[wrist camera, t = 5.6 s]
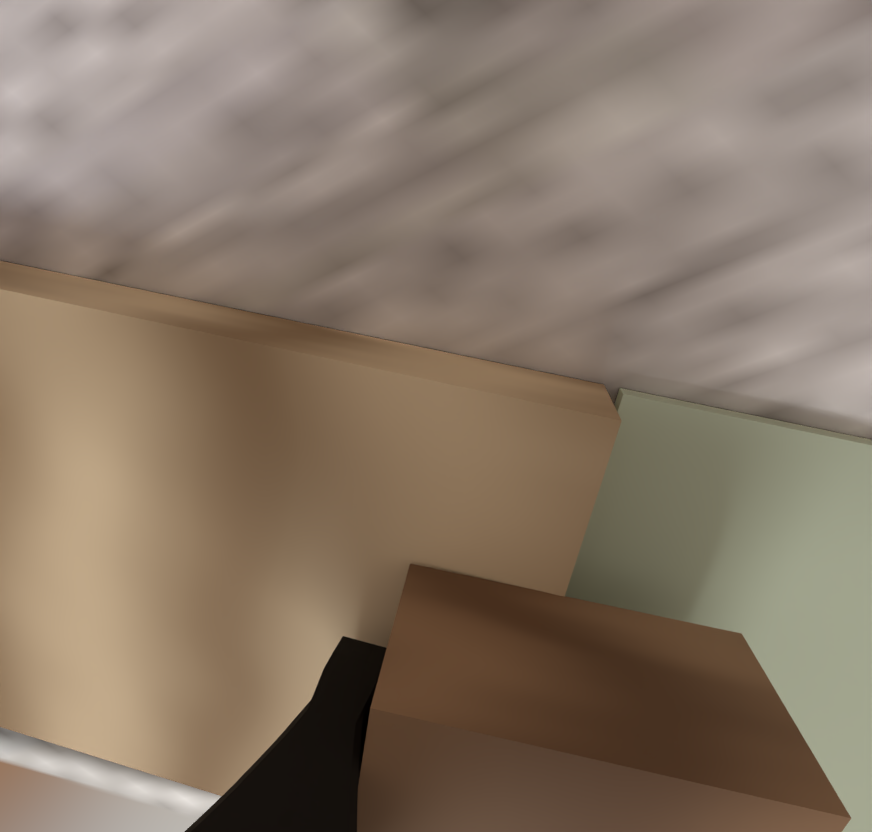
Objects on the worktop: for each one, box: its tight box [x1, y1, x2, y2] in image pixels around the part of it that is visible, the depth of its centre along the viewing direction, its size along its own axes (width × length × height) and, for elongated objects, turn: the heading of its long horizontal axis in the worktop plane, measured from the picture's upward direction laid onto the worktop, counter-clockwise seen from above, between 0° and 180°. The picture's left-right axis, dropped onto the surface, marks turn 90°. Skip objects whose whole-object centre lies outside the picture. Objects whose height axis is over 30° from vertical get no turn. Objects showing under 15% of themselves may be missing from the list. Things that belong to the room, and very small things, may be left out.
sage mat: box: [565, 388, 872, 832], centre depth 11 cm, size 9×12×1 cm
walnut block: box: [357, 564, 851, 832], centre depth 9 cm, size 6×5×3 cm
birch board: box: [0, 261, 622, 796], centre depth 12 cm, size 14×12×2 cm
